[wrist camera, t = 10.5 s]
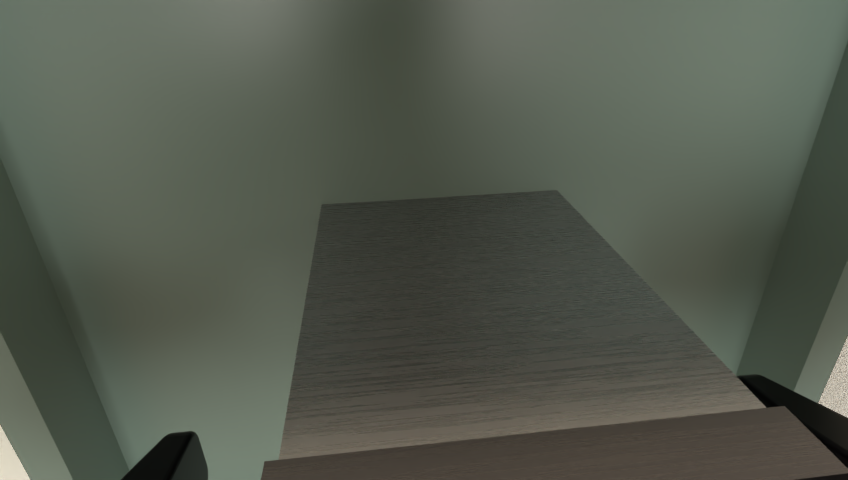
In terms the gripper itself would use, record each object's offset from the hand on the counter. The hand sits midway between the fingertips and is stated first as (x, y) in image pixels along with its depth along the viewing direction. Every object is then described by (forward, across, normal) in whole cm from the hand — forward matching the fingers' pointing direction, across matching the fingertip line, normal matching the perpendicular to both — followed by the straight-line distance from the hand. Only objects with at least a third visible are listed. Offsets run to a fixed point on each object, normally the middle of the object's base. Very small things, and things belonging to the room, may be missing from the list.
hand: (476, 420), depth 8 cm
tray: (+5, 0, 0) cm, 5 cm away
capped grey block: (+4, 0, 0) cm, 4 cm away
